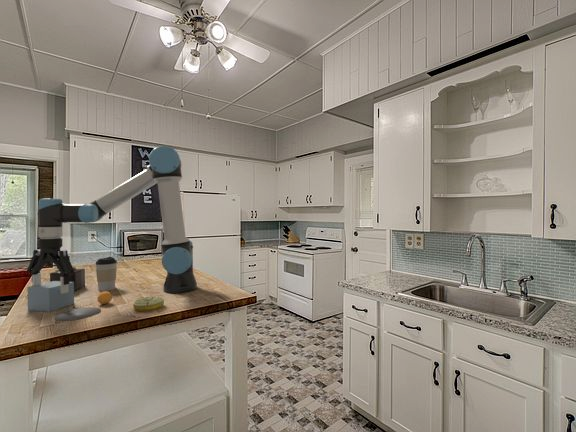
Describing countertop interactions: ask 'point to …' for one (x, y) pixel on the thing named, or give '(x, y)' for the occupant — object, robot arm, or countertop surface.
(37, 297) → the grey rectangular block
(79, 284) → the brown coffee grinder
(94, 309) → the disc
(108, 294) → the ball
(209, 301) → the countertop surface
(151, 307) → the decorated donut
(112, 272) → the coffee cup
